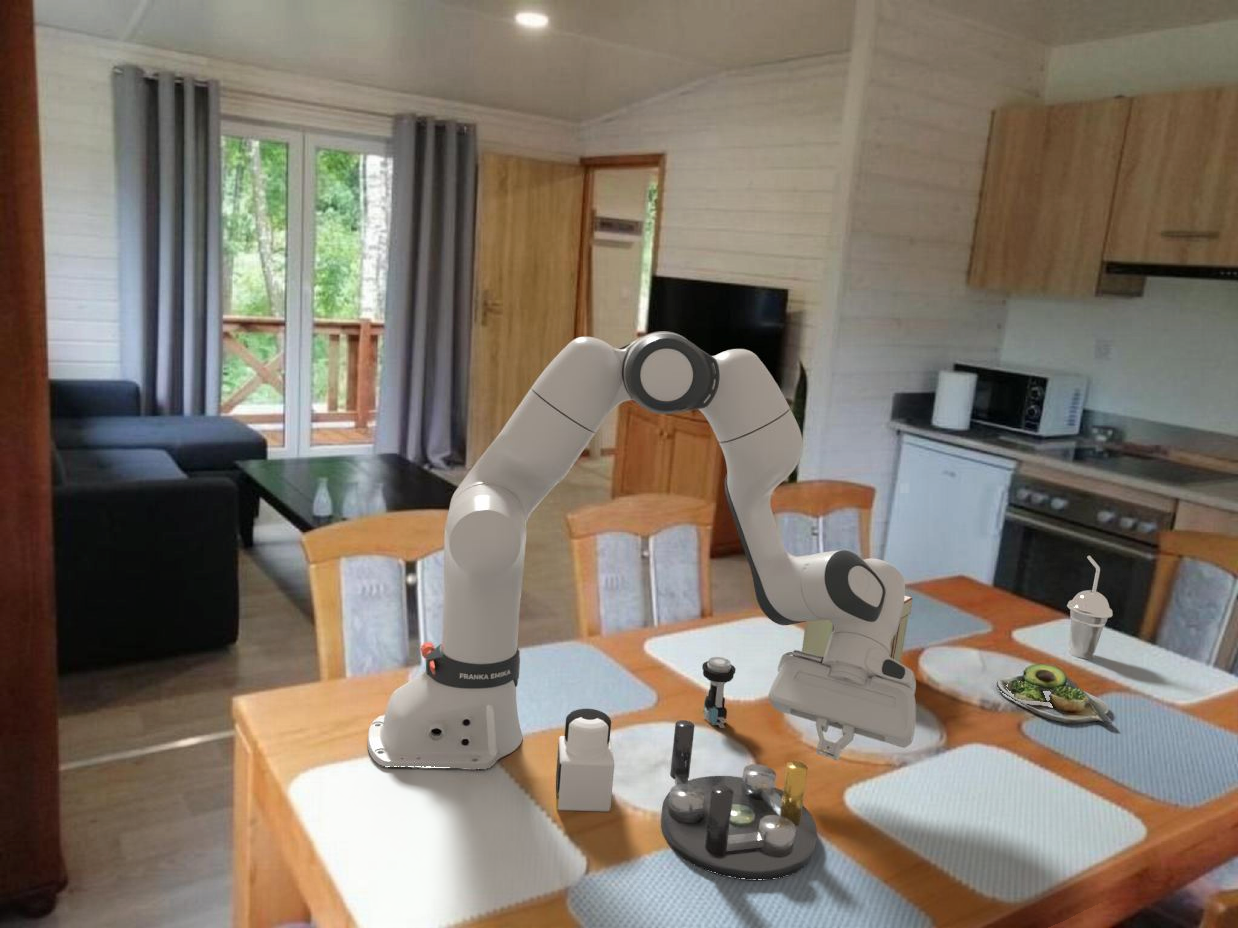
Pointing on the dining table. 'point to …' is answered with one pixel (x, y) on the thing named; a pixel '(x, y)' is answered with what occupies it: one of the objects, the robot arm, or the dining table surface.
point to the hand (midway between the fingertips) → (827, 755)
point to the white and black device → (585, 763)
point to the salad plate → (1055, 695)
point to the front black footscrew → (770, 838)
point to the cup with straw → (1087, 619)
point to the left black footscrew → (684, 777)
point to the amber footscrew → (762, 785)
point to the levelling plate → (743, 820)
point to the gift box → (821, 629)
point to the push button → (717, 688)
